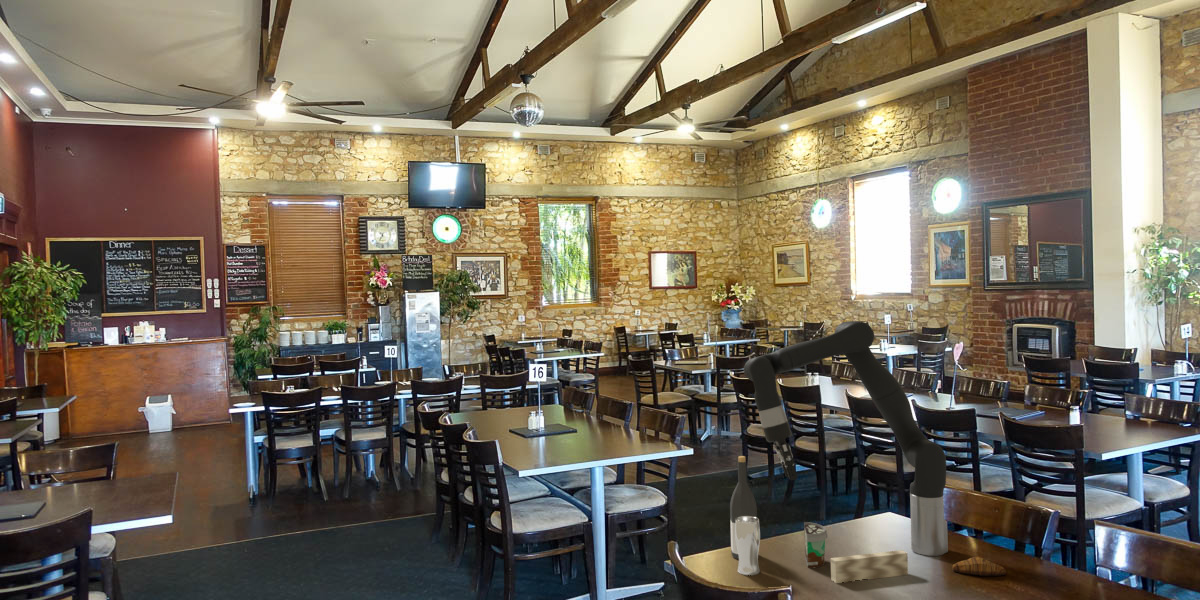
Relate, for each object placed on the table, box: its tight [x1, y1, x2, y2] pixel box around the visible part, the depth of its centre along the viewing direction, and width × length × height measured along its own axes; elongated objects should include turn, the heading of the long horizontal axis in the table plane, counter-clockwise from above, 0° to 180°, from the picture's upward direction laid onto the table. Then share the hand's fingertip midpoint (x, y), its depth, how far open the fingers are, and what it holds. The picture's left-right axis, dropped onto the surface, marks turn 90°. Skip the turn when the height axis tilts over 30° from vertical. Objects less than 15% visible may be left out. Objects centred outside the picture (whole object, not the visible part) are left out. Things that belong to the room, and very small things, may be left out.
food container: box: [803, 521, 828, 569], centre depth 214 cm, size 12×6×10 cm, turn 168°
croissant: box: [951, 556, 1007, 577], centre depth 203 cm, size 14×7×5 cm, turn 75°
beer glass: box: [735, 516, 761, 576], centre depth 209 cm, size 7×7×15 cm
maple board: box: [830, 550, 909, 584], centre depth 202 cm, size 22×2×6 cm, turn 102°
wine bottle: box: [729, 455, 758, 560], centre depth 221 cm, size 8×8×30 cm
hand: (791, 477), depth 212 cm, fingers open, 8 cm apart
